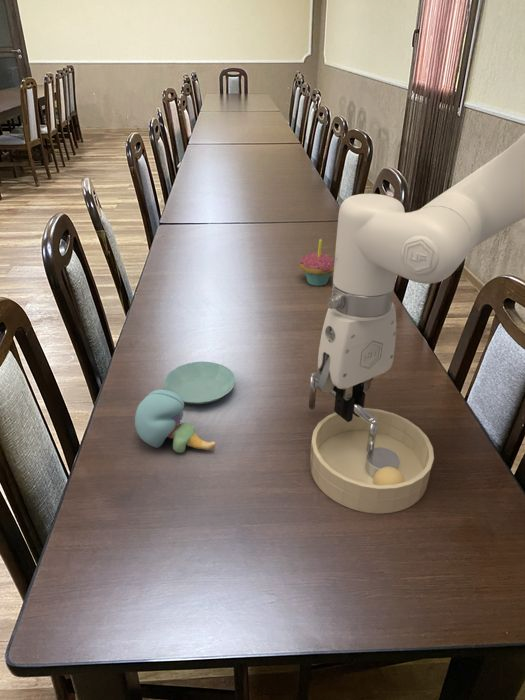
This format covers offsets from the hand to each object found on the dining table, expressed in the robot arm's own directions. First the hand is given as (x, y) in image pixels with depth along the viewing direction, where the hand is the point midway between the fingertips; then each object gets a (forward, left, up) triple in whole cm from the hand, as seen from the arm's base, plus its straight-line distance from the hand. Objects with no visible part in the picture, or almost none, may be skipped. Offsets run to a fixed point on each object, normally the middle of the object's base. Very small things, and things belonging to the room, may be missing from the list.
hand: (348, 413), depth 77 cm
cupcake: (+48, -33, -6) cm, 59 cm away
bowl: (-6, +1, -6) cm, 8 cm away
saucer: (+23, +12, -6) cm, 27 cm away
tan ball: (-10, +2, -5) cm, 11 cm away
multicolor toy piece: (+13, +21, -6) cm, 25 cm away
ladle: (0, 0, -5) cm, 5 cm away
